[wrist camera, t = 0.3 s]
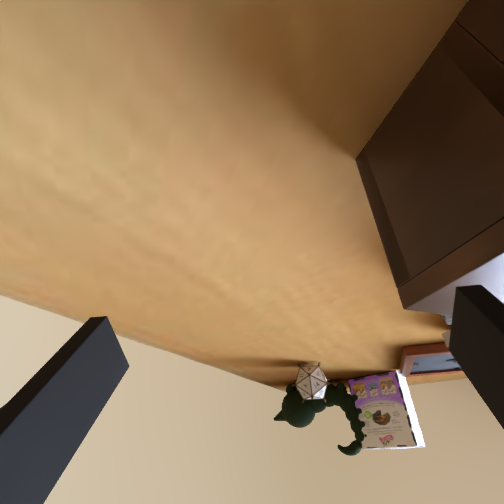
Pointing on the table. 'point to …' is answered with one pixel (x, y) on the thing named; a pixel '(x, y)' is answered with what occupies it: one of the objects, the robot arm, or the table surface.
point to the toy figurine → (305, 411)
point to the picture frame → (428, 360)
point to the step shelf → (445, 168)
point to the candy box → (386, 412)
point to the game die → (311, 382)
